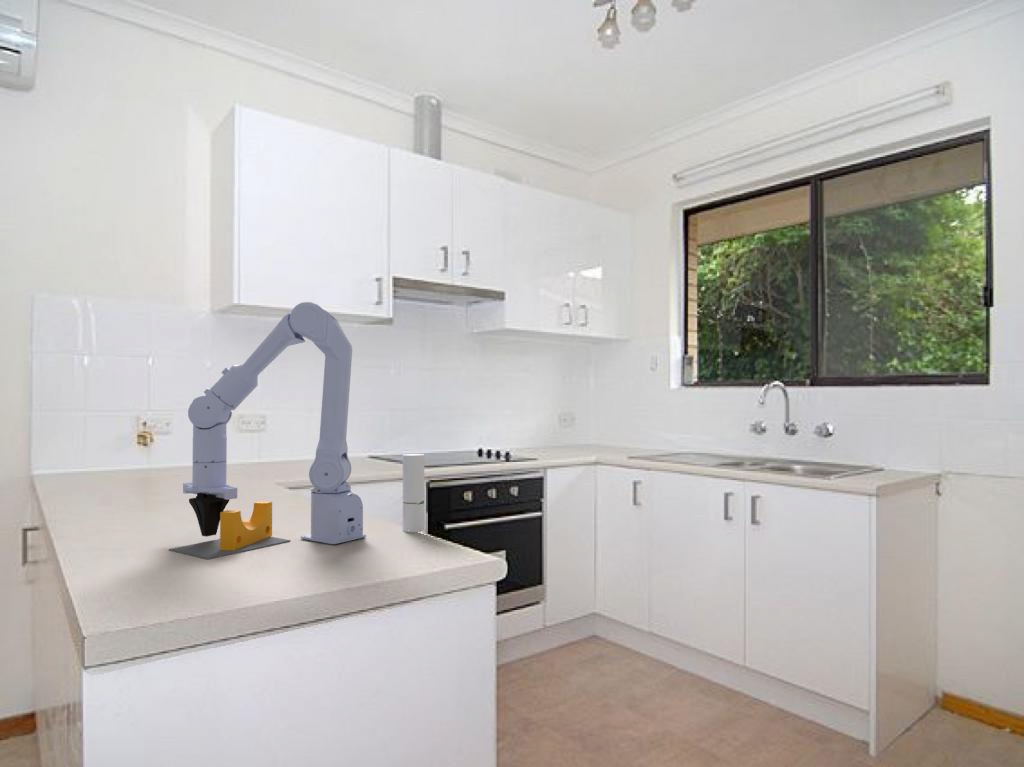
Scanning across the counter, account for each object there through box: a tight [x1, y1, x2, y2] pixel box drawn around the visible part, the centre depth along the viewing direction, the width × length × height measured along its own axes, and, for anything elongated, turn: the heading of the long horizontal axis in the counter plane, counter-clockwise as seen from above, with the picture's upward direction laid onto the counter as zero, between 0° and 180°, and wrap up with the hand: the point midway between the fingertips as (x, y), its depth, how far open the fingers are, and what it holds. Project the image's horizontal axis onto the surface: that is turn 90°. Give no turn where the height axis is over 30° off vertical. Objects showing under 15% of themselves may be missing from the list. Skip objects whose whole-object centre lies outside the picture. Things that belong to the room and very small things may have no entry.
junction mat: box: [168, 536, 291, 560], centre depth 115 cm, size 12×16×1 cm
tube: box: [402, 453, 425, 533], centre depth 129 cm, size 4×4×15 cm
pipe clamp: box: [219, 500, 273, 550], centre depth 117 cm, size 12×4×6 cm, turn 169°
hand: (209, 535), depth 119 cm, fingers closed
